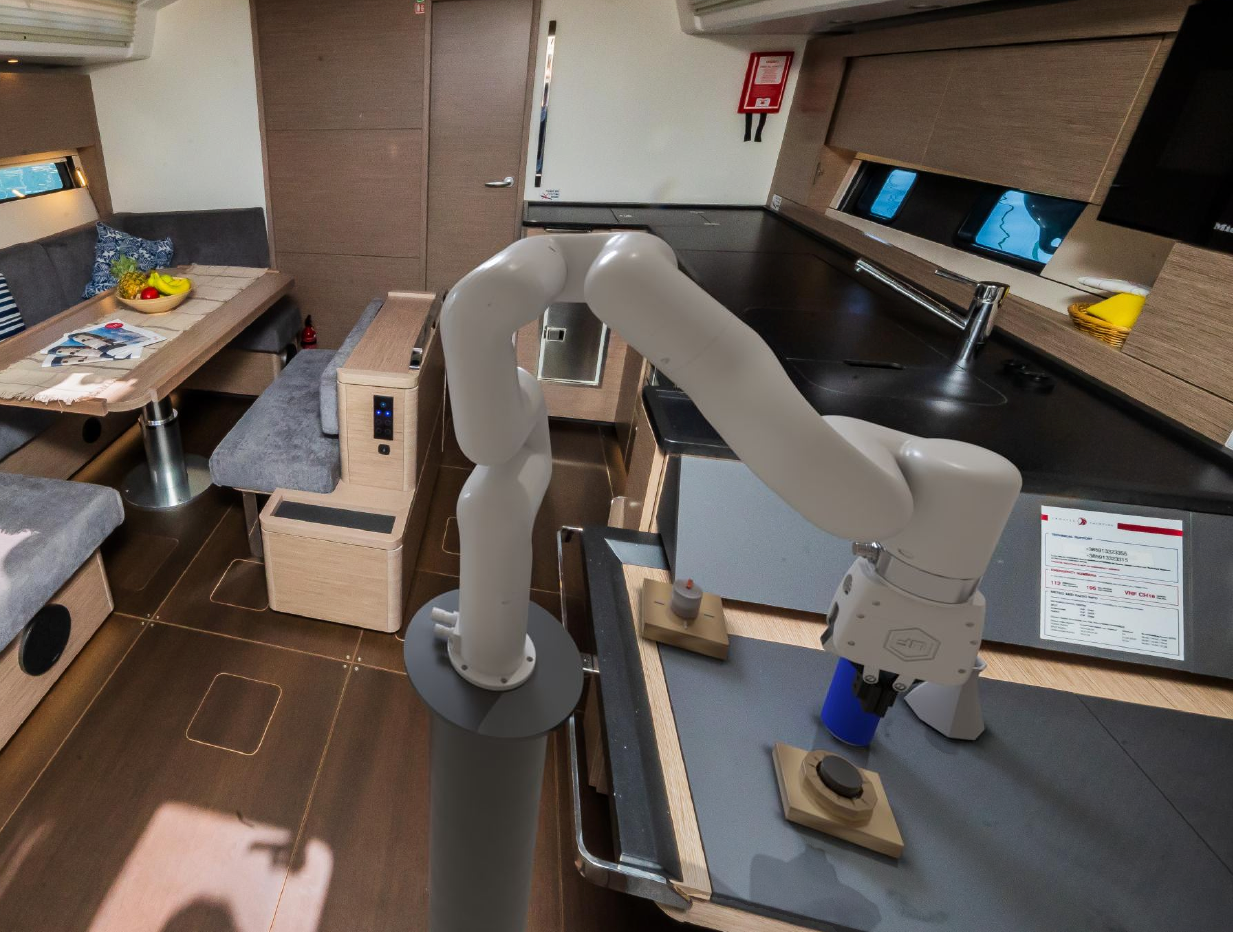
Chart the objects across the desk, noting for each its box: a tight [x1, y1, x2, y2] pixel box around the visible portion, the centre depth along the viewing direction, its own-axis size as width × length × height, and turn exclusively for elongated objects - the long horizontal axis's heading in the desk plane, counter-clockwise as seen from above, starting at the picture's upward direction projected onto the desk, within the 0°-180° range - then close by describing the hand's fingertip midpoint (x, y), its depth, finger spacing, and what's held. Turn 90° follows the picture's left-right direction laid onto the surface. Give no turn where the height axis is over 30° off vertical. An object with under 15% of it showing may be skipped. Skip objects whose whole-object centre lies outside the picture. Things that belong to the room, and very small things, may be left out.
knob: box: [669, 578, 704, 619], centre depth 90 cm, size 4×4×4 cm
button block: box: [771, 741, 905, 860], centre depth 67 cm, size 10×8×4 cm
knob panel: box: [641, 577, 730, 661], centre depth 91 cm, size 11×10×3 cm
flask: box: [903, 655, 988, 741], centre depth 75 cm, size 7×7×10 cm
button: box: [819, 755, 863, 798], centre depth 66 cm, size 4×4×2 cm
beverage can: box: [820, 657, 881, 747], centre depth 73 cm, size 5×5×15 cm
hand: (868, 703), depth 62 cm, fingers closed
